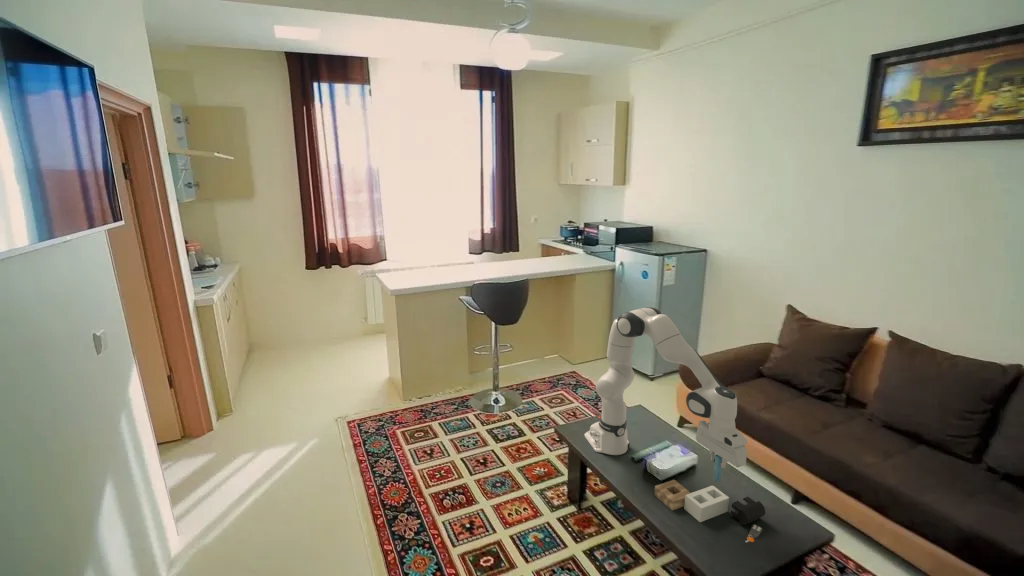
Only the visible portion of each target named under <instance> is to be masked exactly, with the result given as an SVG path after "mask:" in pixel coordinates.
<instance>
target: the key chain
mask: <svg viewBox="0 0 1024 576" xmlns="http://www.w3.org/2000/svg"><path fill="white" fill-rule="evenodd" d="M762 532H763V528H762V526H760V525H758V524H754V523H752V524H751V527H750V530H749V533H748V535H747V537H746V540H745V541H744V542H745V543H746V544H747V543H749V542H750V543H754V542H755V539H756V538H758V537H759V536H760V535H761V533H762Z"/></svg>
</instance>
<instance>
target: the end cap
mask: <svg viewBox="0 0 1024 576" xmlns="http://www.w3.org/2000/svg"><path fill="white" fill-rule="evenodd" d="M742 500H743V501H744V502H746V504H745V503H744V504H743V503H741V502H740V501H739V500H737V501H734V502H732V503H731V508H732V509H733V510H732V509H731V510H730V514H731V516H730V518H731V519H732V520H733V521H735V522H736V523H737V524H738V525H740V526H746V525H748V524H750V523H751V522H752V523H753V522H754V521H756V520H759V519H762V518H763V517H764V516H765V515H766V507H765V506H764V504H763V503H762V502H760V500H758V501H755V500H754V499H752V498H751V497H750V496H746V497H743V498H742Z"/></svg>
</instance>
